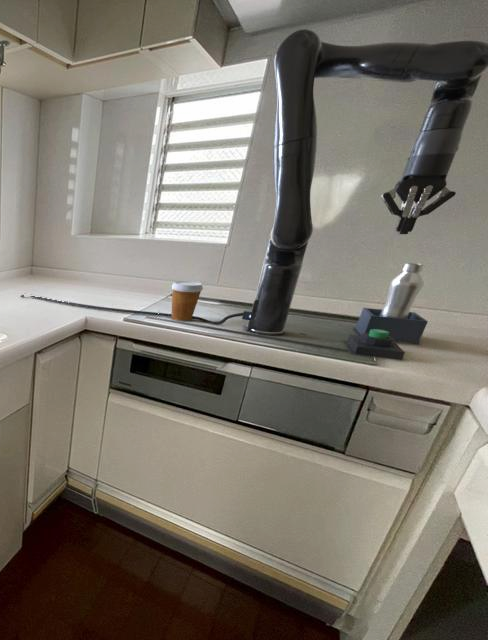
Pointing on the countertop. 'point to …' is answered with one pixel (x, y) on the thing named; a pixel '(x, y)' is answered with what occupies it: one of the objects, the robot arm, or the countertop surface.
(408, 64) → the robot arm
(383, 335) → the button
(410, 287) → the silver metal bottle
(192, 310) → the disposable coffee cup
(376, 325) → the basket
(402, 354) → the control block
